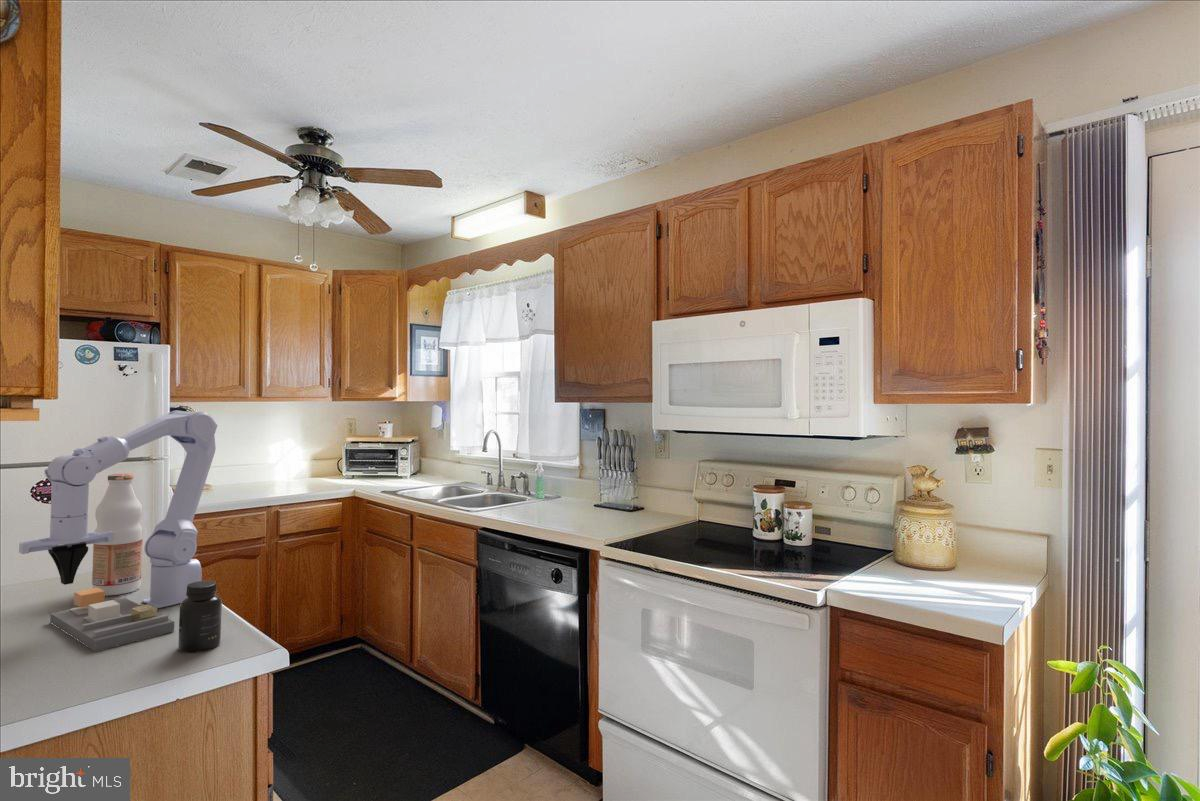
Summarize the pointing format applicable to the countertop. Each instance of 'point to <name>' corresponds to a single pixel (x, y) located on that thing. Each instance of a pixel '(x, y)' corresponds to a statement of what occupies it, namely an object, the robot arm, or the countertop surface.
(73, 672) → the countertop surface
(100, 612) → the off-white button
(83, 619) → the grey ridged tray
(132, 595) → the countertop surface
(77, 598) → the orange button
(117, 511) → the fruit juice
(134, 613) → the wood grain block
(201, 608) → the supplement bottle
